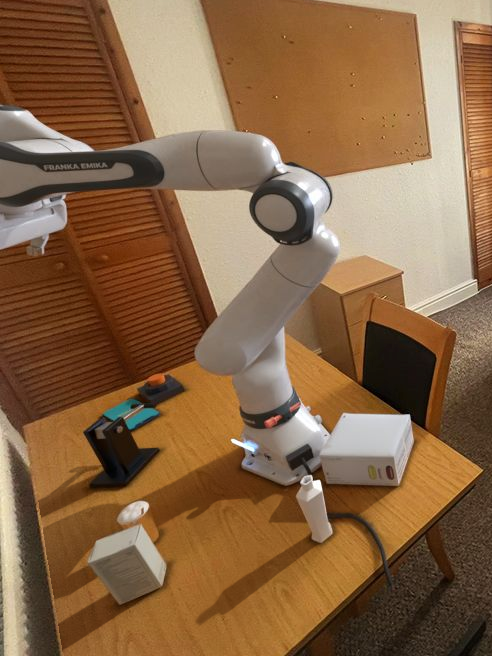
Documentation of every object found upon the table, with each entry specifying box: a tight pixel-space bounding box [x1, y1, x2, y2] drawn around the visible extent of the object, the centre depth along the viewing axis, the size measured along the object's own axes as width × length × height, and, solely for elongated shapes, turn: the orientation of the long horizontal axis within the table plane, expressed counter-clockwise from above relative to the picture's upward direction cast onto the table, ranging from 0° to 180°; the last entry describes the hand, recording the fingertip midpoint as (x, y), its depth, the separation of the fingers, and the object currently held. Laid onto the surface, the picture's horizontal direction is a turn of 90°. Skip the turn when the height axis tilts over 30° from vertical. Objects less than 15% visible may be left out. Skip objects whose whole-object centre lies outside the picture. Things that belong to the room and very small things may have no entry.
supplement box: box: [319, 412, 415, 487], centre depth 95 cm, size 17×13×9 cm
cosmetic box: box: [87, 524, 168, 606], centre depth 70 cm, size 6×4×12 cm
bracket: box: [82, 417, 161, 489], centre depth 93 cm, size 10×8×14 cm
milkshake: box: [116, 500, 160, 544], centre depth 78 cm, size 4×5×10 cm
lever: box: [95, 402, 158, 439], centre depth 96 cm, size 12×6×2 cm, turn 3°
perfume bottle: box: [295, 475, 334, 544], centre depth 78 cm, size 5×4×15 cm
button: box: [147, 372, 166, 386], centre depth 119 cm, size 4×4×2 cm
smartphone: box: [102, 398, 161, 432], centre depth 112 cm, size 7×1×15 cm
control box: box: [136, 373, 186, 405], centre depth 120 cm, size 10×8×4 cm
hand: (12, 263), depth 78 cm, fingers open, 8 cm apart
